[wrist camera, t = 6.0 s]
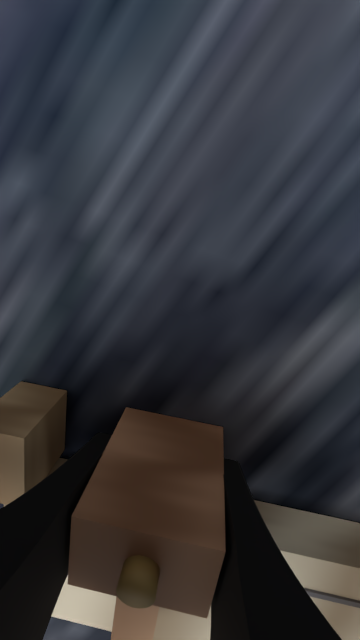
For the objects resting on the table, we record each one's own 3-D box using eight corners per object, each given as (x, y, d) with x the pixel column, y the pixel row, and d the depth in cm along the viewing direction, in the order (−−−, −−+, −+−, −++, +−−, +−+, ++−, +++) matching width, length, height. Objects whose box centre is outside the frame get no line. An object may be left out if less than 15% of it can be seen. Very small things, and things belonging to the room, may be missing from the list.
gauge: (222, 427, 13) (225, 577, 7) (189, 569, 15) (173, 758, 10) (126, 407, 13) (60, 538, 7) (109, 550, 15) (52, 724, 10)
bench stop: (67, 390, 13) (24, 438, 10) (64, 449, 14) (24, 508, 11) (21, 381, 13) (-35, 425, 10) (21, 440, 14) (-29, 496, 11)
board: (373, 525, 13) (400, 580, 11) (323, 631, 15) (339, 692, 13) (32, 451, 14) (1, 489, 12) (31, 560, 16) (5, 607, 14)
